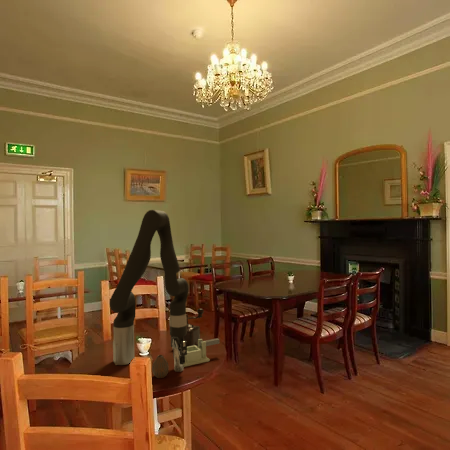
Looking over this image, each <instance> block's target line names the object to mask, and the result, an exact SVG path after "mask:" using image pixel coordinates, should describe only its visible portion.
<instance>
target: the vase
mask: <svg viewBox="0 0 450 450" xmlns="http://www.w3.org/2000/svg"><path fill="white" fill-rule="evenodd" d="M169 368H170V367H169V363H168V361H167V359H166V358H165V356H164V355H162V354H158V355H157V356H156V358H155V360H154V361H153V363H152V368H151V370H152V375H153V376H155V378H157V379H164V378H165V377H166V376H167V375H168V373H169Z"/></svg>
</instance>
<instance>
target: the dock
mask: <svg viewBox="0 0 450 450" xmlns="http://www.w3.org/2000/svg"><path fill="white" fill-rule="evenodd" d="M201 341H203V342H201ZM199 342H201V347H200V346H199ZM210 360H211V359H210V358H209V357H207V346H206V340H203V338H200V339H198V346H196V345H194V346H189V347H187V355H185V364H183V368H186V367H189V366H194V365H198V364H204V363H207V362H210Z"/></svg>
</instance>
